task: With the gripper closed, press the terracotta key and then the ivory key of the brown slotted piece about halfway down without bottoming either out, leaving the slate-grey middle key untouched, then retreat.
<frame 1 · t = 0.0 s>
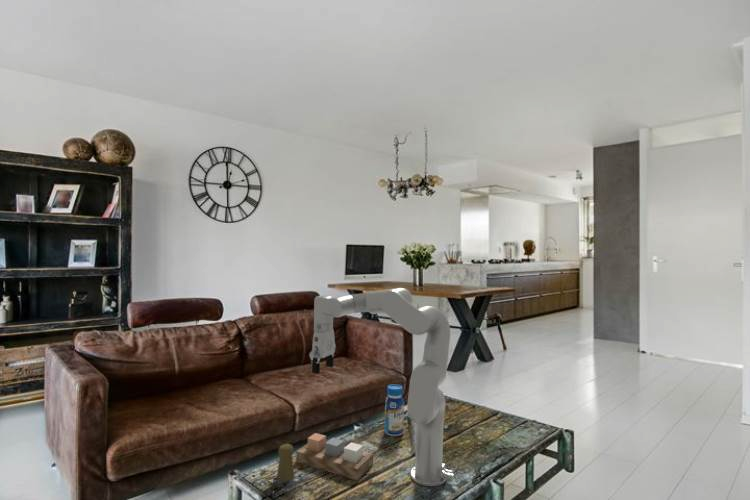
hand: (322, 369, 171), 31 cm above the table, fingers open, 9 cm apart
key terracotta: (316, 443, 163), point 6 cm above the table, slide at 0.0 cm
key slate: (334, 448, 159), point 6 cm above the table, slide at 0.0 cm
key ivory: (353, 453, 156), point 6 cm above the table, slide at 0.0 cm
cork: (285, 477, 150), on the table
brown slotted piece: (334, 463, 160), on the table
beverage bottle: (394, 432, 186), on the table
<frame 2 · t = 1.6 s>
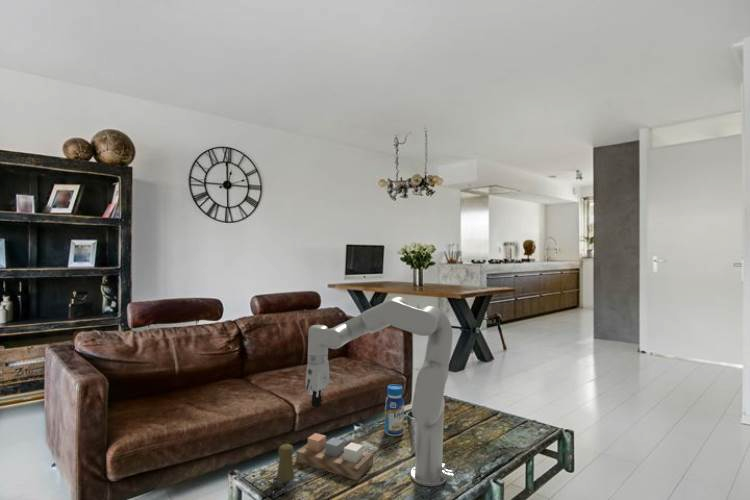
hand: (316, 406, 163), 20 cm above the table, fingers closed
nothing on the table moved.
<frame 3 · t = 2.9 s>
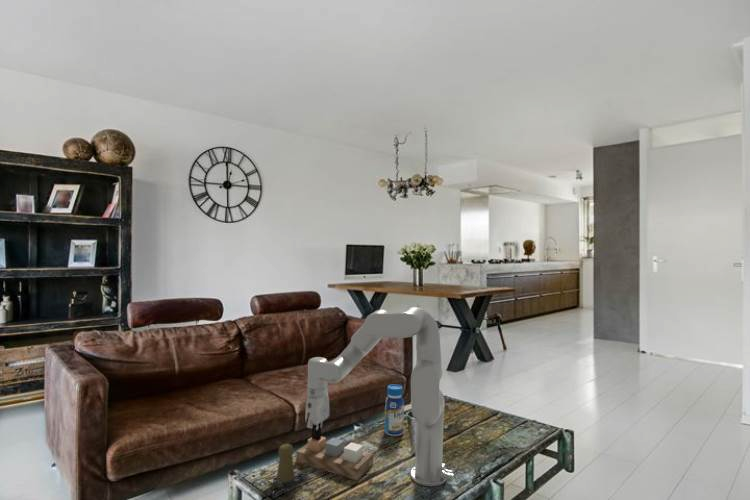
hand: (316, 438, 163), 7 cm above the table, fingers closed
key terracotta: (316, 445, 163), point 5 cm above the table, slide at 0.7 cm, touching gripper
everything else where it was.
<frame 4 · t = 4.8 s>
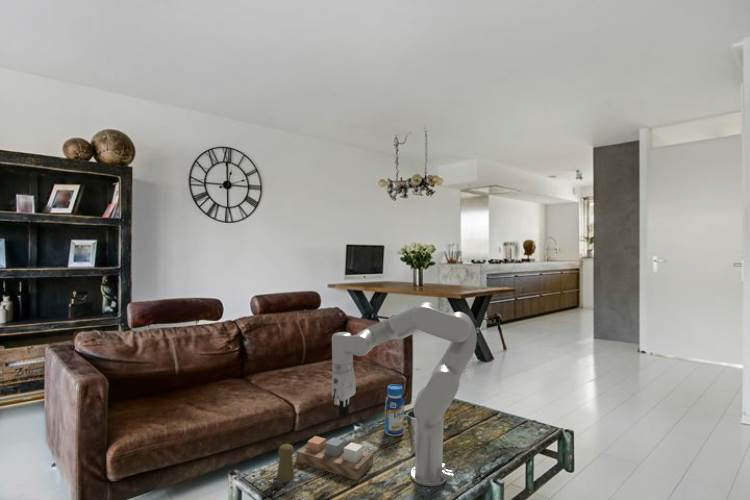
hand: (343, 416, 158), 18 cm above the table, fingers closed
key terracotta: (316, 446, 163), point 4 cm above the table, slide at 1.2 cm
everything else where it was.
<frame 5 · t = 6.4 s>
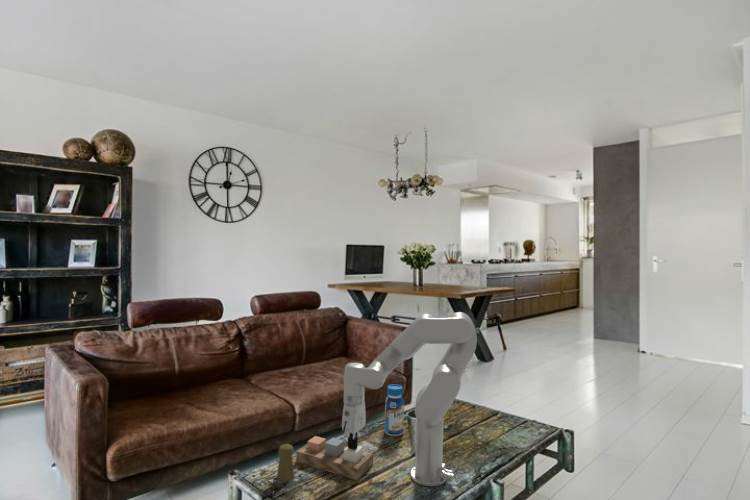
hand: (352, 447, 156), 8 cm above the table, fingers closed
key ivory: (353, 454, 156), point 5 cm above the table, slide at 0.5 cm, touching gripper
everything else where it was.
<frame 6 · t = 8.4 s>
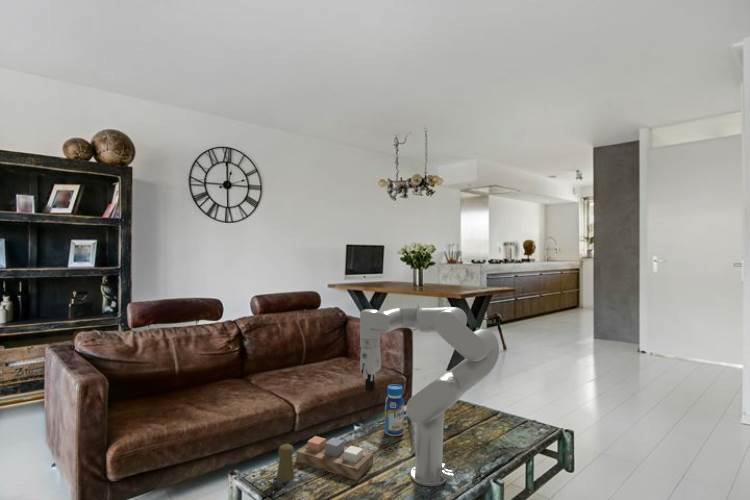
hand: (370, 390, 163), 26 cm above the table, fingers closed
key ivory: (353, 456, 156), point 4 cm above the table, slide at 1.2 cm
everything else where it was.
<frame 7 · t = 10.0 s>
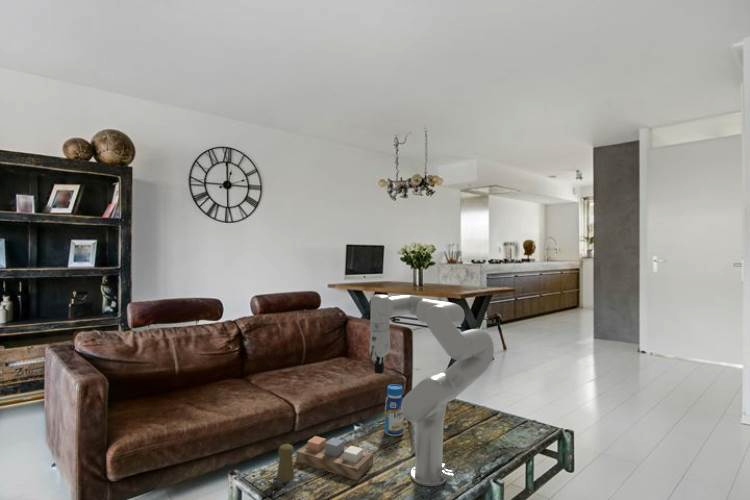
hand: (379, 372, 169), 31 cm above the table, fingers closed
nothing on the table moved.
at the end: key terracotta slide at 1.2 cm; key ivory slide at 1.2 cm; key slate slide at 0.0 cm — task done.
